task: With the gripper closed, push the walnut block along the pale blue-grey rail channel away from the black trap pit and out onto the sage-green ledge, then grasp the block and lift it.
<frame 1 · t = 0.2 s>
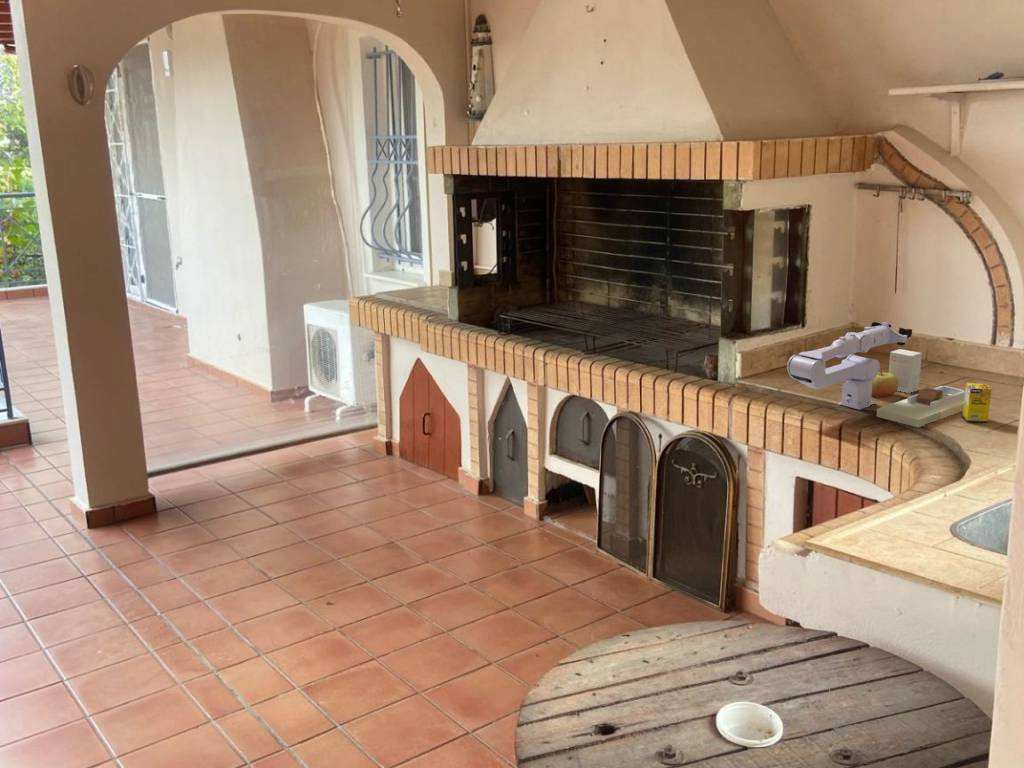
hand: (900, 329, 316), 22 cm above the table, tool horizontal, fingers open, 7 cm apart
apple: (881, 395, 320), on the table
supplement box: (974, 421, 293), on the table
small box: (902, 390, 326), on the table
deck: (926, 411, 303), on the table
block: (929, 402, 303), point 2 cm above the table, touching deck
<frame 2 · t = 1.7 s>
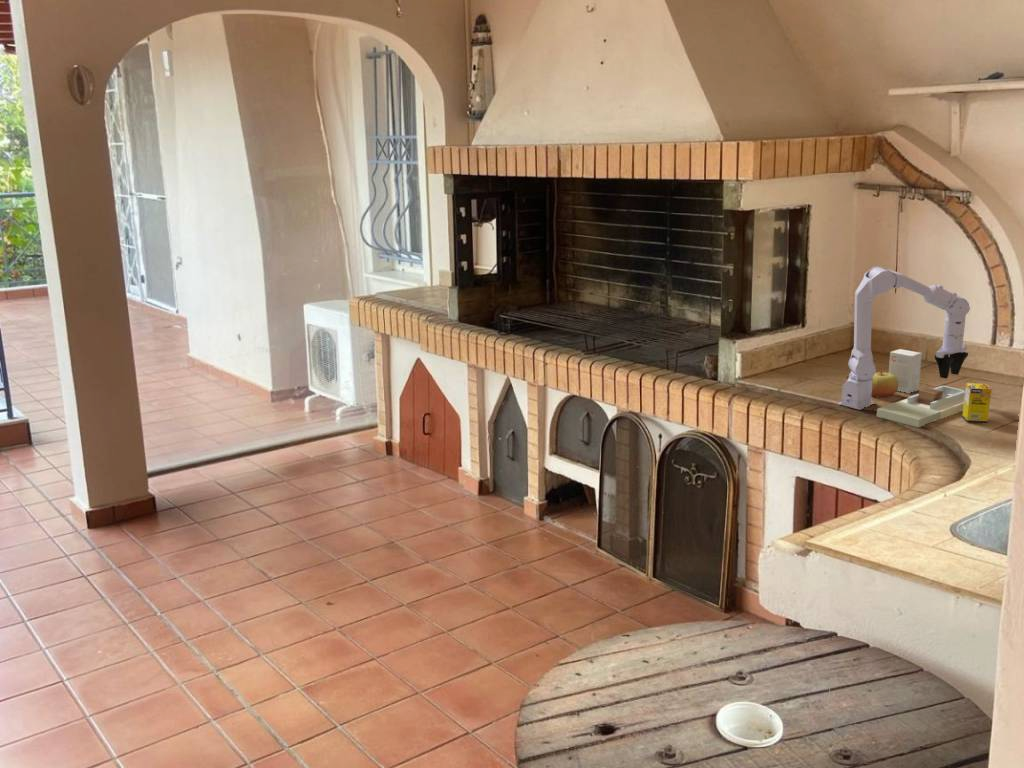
hand: (949, 375, 306), 9 cm above the table, tool pointing down, fingers open, 6 cm apart
nothing on the table moved.
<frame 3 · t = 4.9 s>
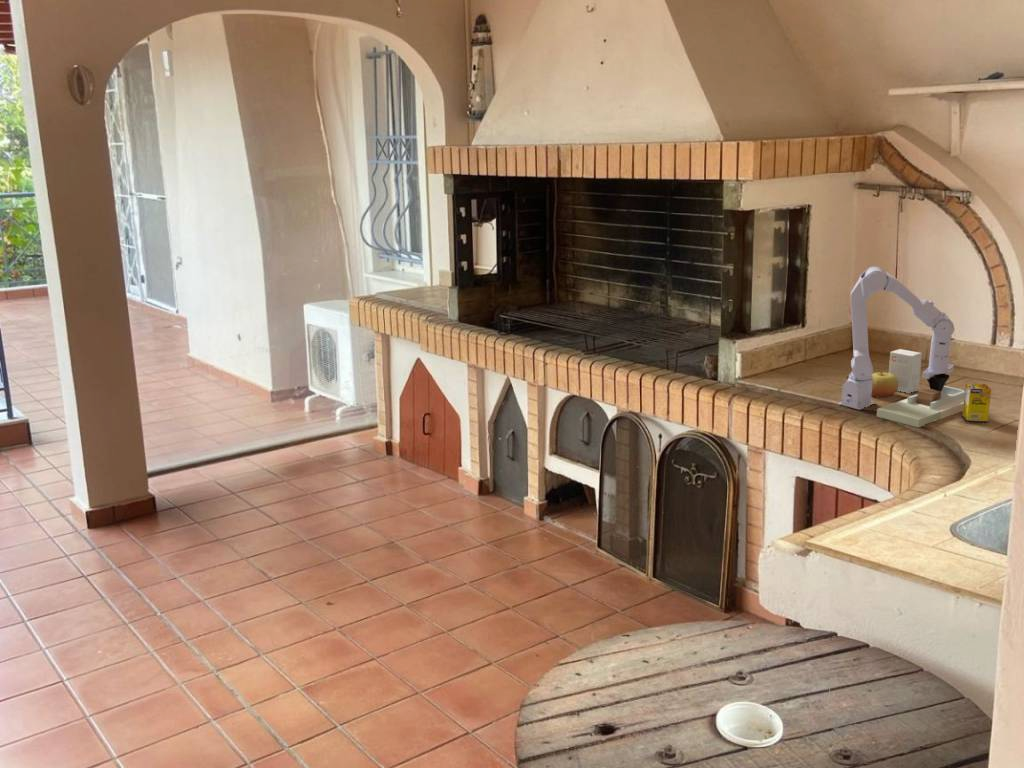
hand: (935, 396, 304), 4 cm above the table, tool pointing down, fingers closed
block: (928, 403, 302), point 3 cm above the table, touching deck, gripper
everything else where it was.
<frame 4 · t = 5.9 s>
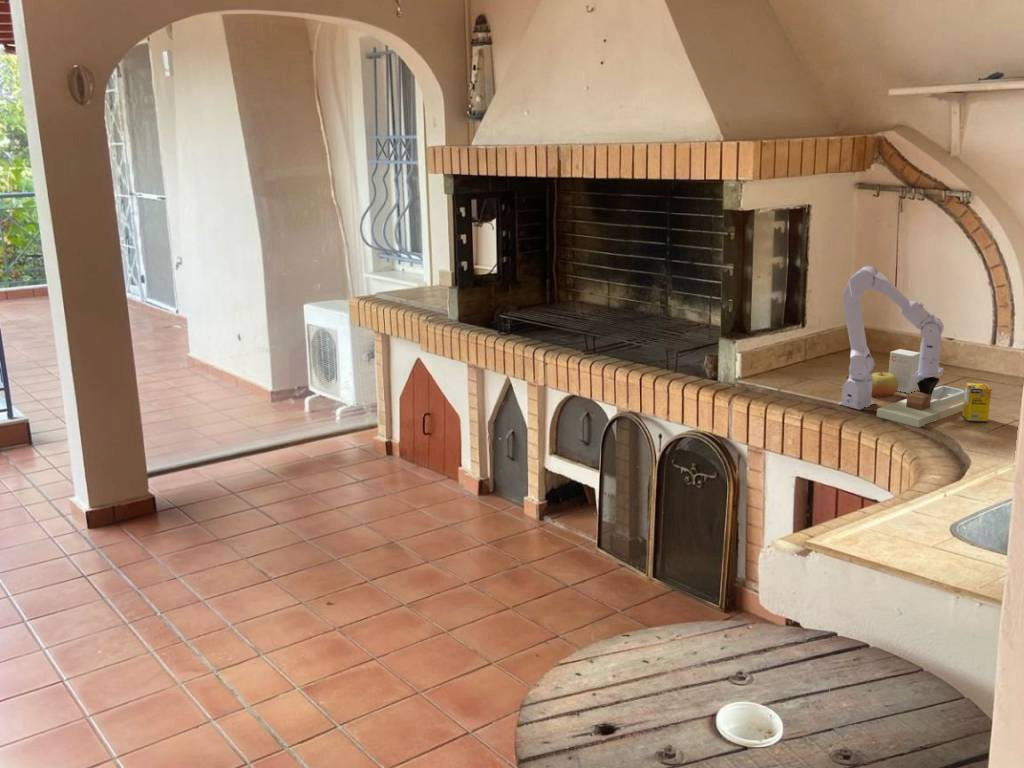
hand: (925, 400, 301), 4 cm above the table, tool pointing down, fingers closed
block: (918, 407, 299), point 3 cm above the table, touching gripper
everything else where it was.
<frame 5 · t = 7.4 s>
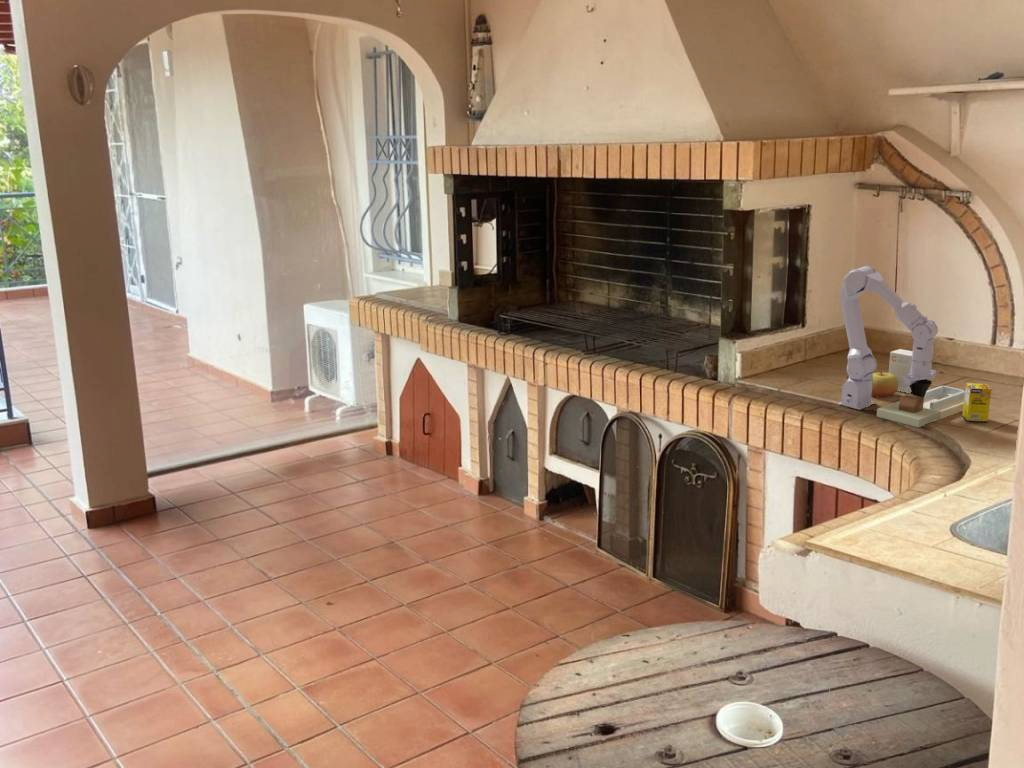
hand: (917, 402, 298), 4 cm above the table, tool pointing down, fingers closed
block: (910, 409, 296), point 2 cm above the table, touching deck, gripper
everything else where it was.
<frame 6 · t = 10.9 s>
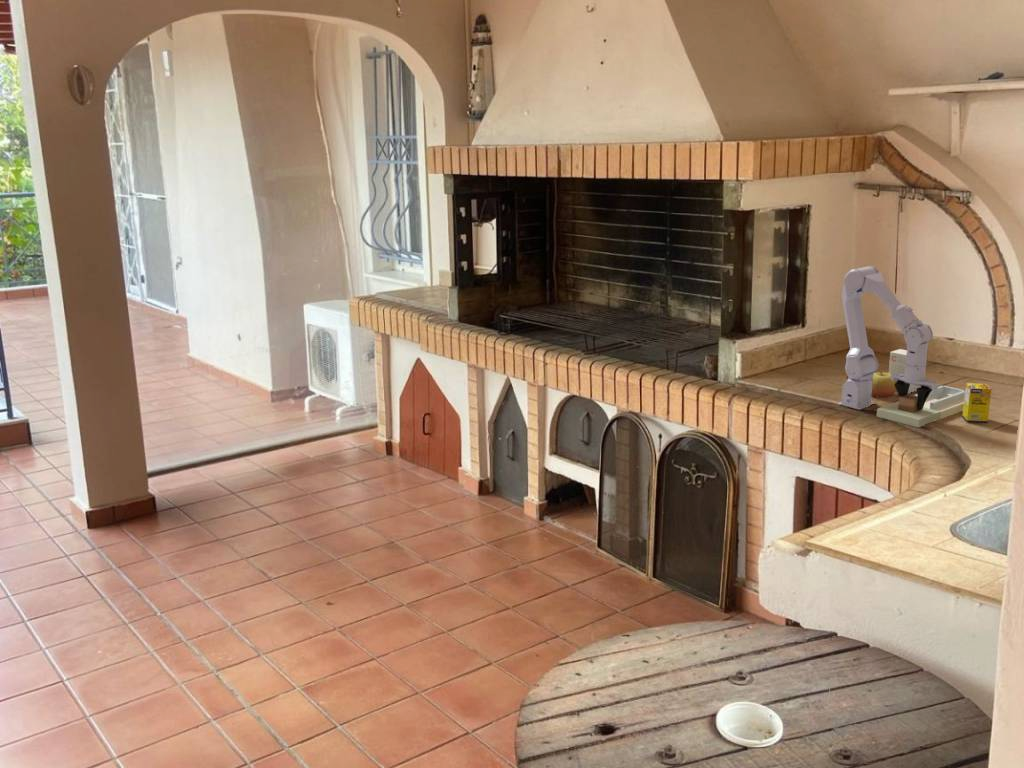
hand: (911, 407, 297), 3 cm above the table, tool pointing down, fingers closed on block, 5 cm apart
block: (910, 409, 296), point 3 cm above the table, touching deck, gripper
everything else where it was.
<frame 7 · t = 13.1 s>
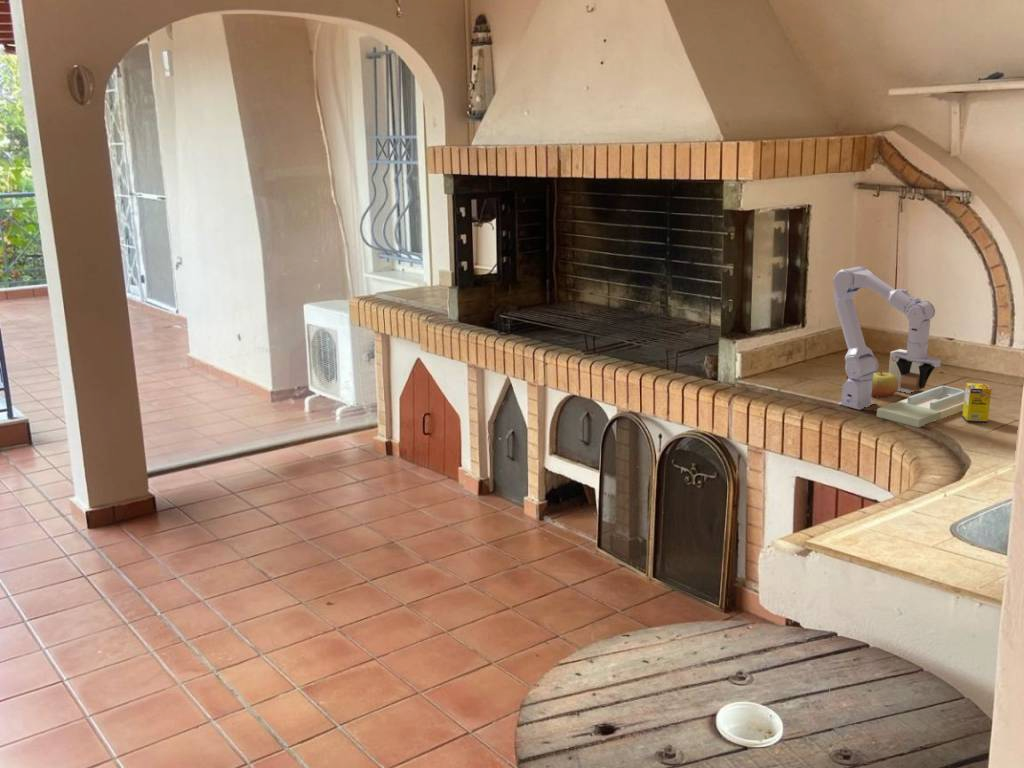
hand: (913, 385, 295), 10 cm above the table, tool pointing down, fingers closed on block, 5 cm apart
block: (912, 387, 295), point 9 cm above the table, touching gripper
everything else where it was.
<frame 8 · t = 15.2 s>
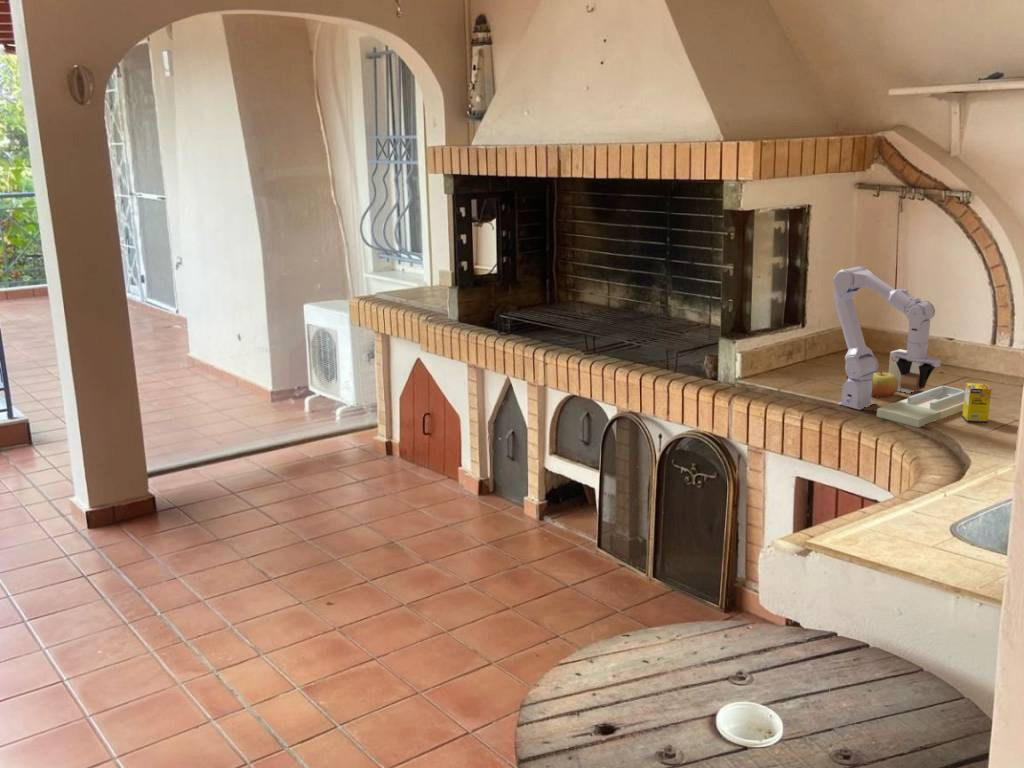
hand: (913, 385, 295), 10 cm above the table, tool pointing down, fingers closed on block, 5 cm apart
block: (912, 387, 295), point 9 cm above the table, touching gripper
everything else where it was.
at the end: block inside the target area on the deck (0.3 cm from its centre), point 9.5 cm above the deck's base; the gripper is holding block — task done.
